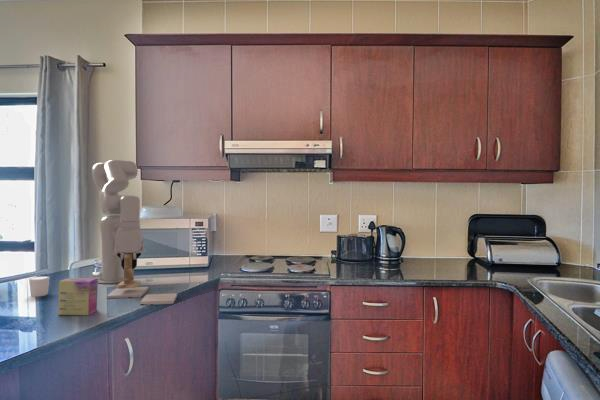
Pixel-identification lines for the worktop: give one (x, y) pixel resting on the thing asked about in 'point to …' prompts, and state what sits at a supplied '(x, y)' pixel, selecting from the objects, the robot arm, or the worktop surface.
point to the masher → (128, 273)
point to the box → (77, 296)
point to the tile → (159, 299)
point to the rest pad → (128, 292)
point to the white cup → (39, 286)
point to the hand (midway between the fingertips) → (129, 268)
